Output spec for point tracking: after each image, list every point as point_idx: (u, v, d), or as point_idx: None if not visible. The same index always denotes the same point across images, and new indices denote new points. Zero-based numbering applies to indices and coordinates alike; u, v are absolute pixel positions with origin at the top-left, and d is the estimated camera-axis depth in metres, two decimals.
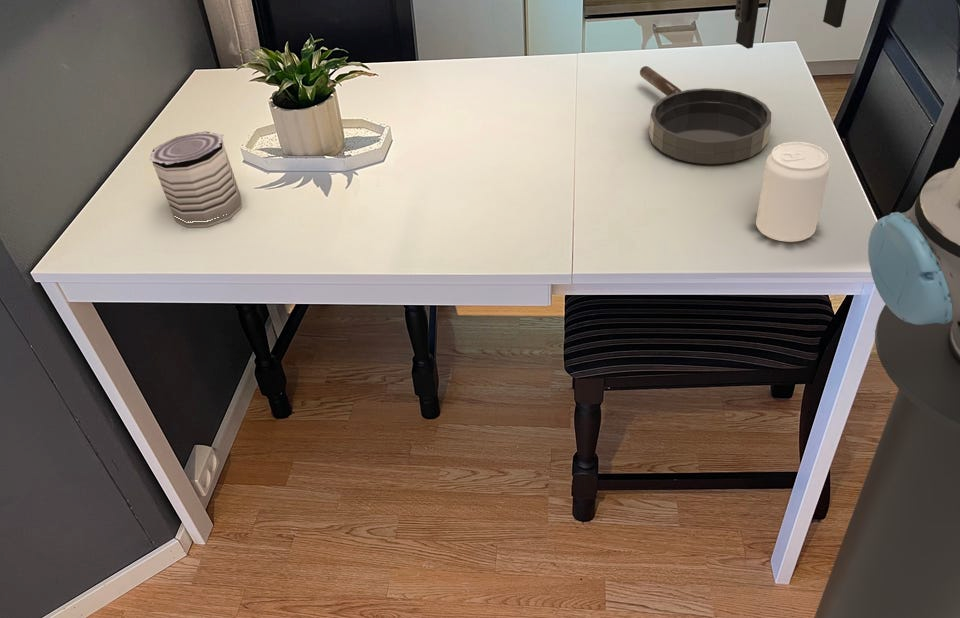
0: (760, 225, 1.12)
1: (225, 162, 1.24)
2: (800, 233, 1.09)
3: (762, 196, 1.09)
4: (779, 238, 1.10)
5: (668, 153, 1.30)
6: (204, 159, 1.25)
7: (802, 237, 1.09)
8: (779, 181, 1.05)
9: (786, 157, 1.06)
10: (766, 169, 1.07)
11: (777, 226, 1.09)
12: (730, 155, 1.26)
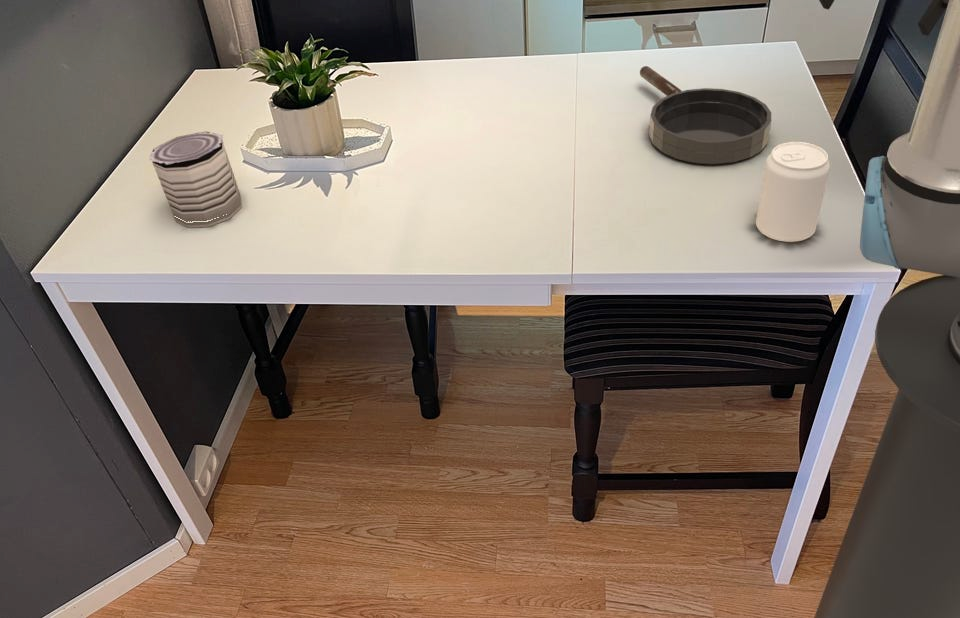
0: (760, 225, 1.12)
1: (225, 162, 1.24)
2: (800, 233, 1.09)
3: (762, 196, 1.09)
4: (779, 238, 1.10)
5: (668, 153, 1.30)
6: (204, 159, 1.25)
7: (802, 237, 1.09)
8: (779, 181, 1.05)
9: (786, 157, 1.06)
10: (766, 169, 1.07)
11: (777, 226, 1.09)
12: (730, 155, 1.26)
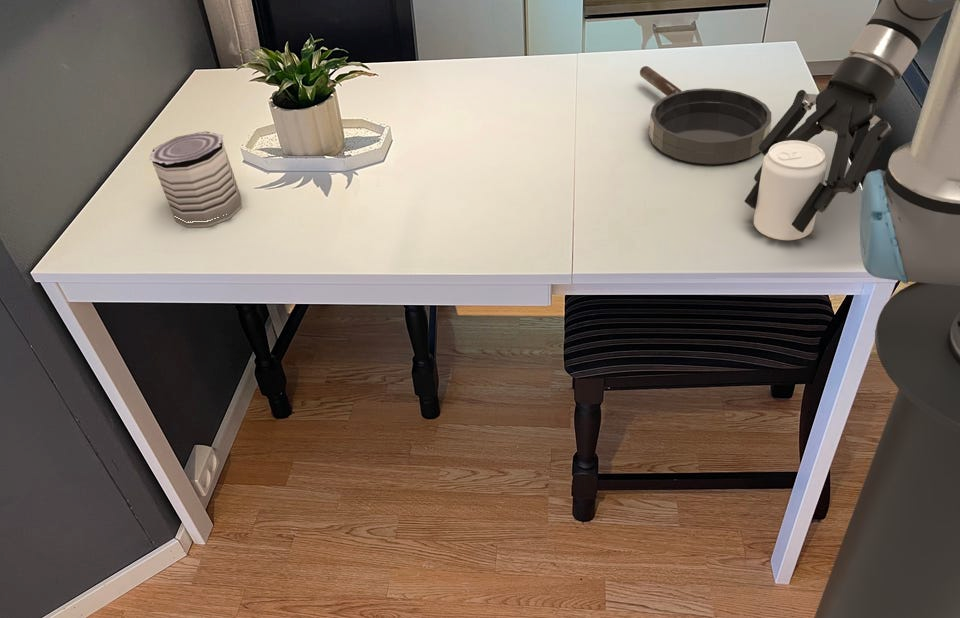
0: (757, 223, 1.12)
1: (225, 162, 1.24)
2: (798, 232, 1.09)
3: (759, 195, 1.10)
4: (776, 236, 1.10)
5: (668, 153, 1.30)
6: (204, 159, 1.25)
7: (799, 235, 1.10)
8: (776, 179, 1.05)
9: (783, 156, 1.06)
10: (763, 168, 1.07)
11: (774, 225, 1.09)
12: (730, 155, 1.26)
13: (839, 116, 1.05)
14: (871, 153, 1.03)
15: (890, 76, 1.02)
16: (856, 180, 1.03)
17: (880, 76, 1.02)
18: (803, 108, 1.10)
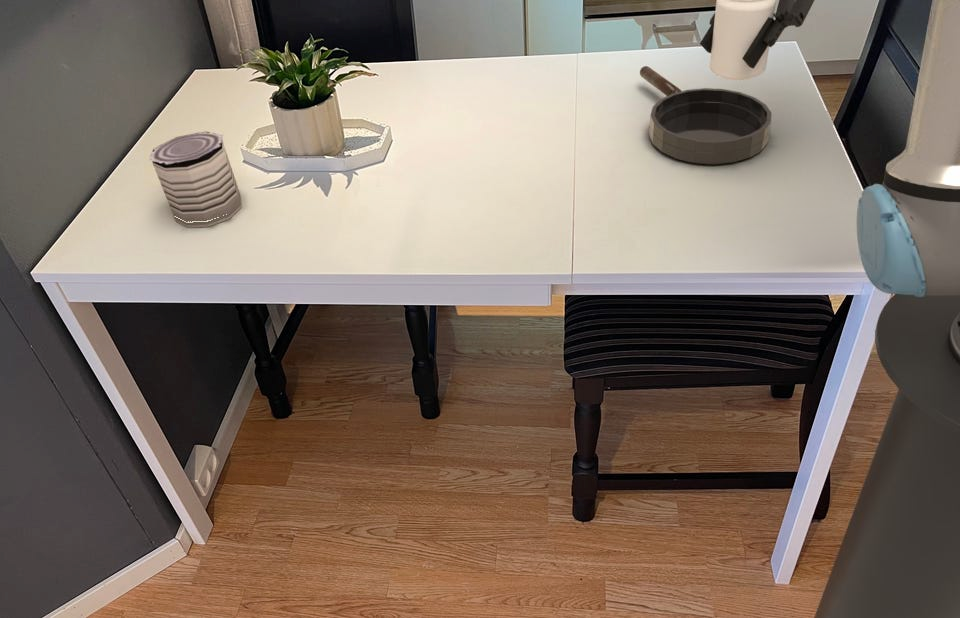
0: (713, 66, 1.18)
1: (225, 162, 1.24)
2: (750, 70, 1.15)
3: (714, 35, 1.15)
4: (730, 76, 1.16)
5: (668, 153, 1.30)
6: (204, 159, 1.25)
7: (751, 74, 1.15)
8: (727, 15, 1.11)
9: None
10: (716, 6, 1.13)
11: (728, 63, 1.15)
12: (730, 155, 1.26)
13: None
14: None
15: None
16: (802, 12, 1.09)
17: None
18: None
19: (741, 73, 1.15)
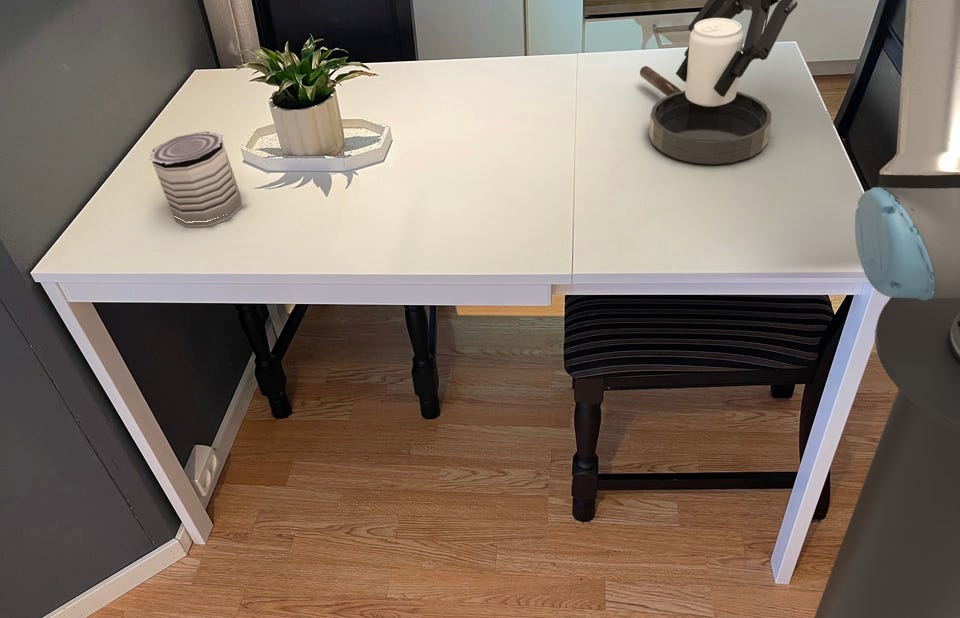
0: (688, 93, 1.29)
1: (225, 162, 1.24)
2: (721, 98, 1.26)
3: (688, 66, 1.27)
4: (703, 103, 1.27)
5: (668, 153, 1.30)
6: (204, 159, 1.25)
7: (722, 101, 1.27)
8: (700, 48, 1.22)
9: (706, 29, 1.23)
10: (690, 40, 1.24)
11: (701, 91, 1.26)
12: (730, 155, 1.26)
13: None
14: (779, 23, 1.20)
15: None
16: (767, 47, 1.20)
17: None
18: None
19: (713, 101, 1.27)
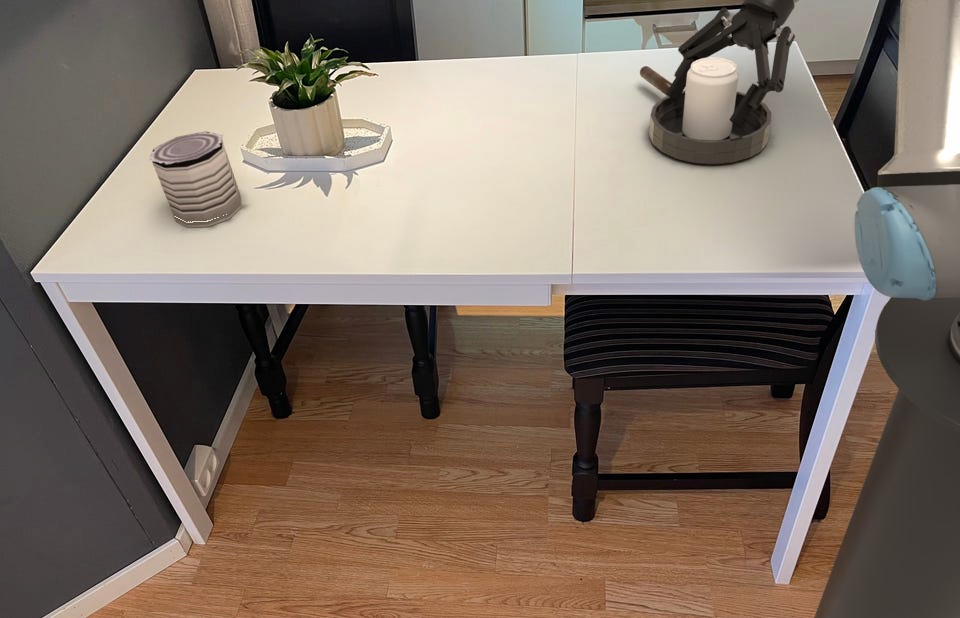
0: (684, 129, 1.33)
1: (225, 162, 1.24)
2: (716, 134, 1.30)
3: (685, 103, 1.31)
4: None
5: (668, 153, 1.30)
6: (204, 159, 1.25)
7: (718, 138, 1.31)
8: (696, 87, 1.27)
9: (703, 68, 1.27)
10: (687, 79, 1.29)
11: (697, 128, 1.30)
12: (730, 155, 1.26)
13: (749, 32, 1.26)
14: (785, 55, 1.23)
15: None
16: (781, 78, 1.22)
17: None
18: (722, 23, 1.31)
19: (709, 137, 1.31)
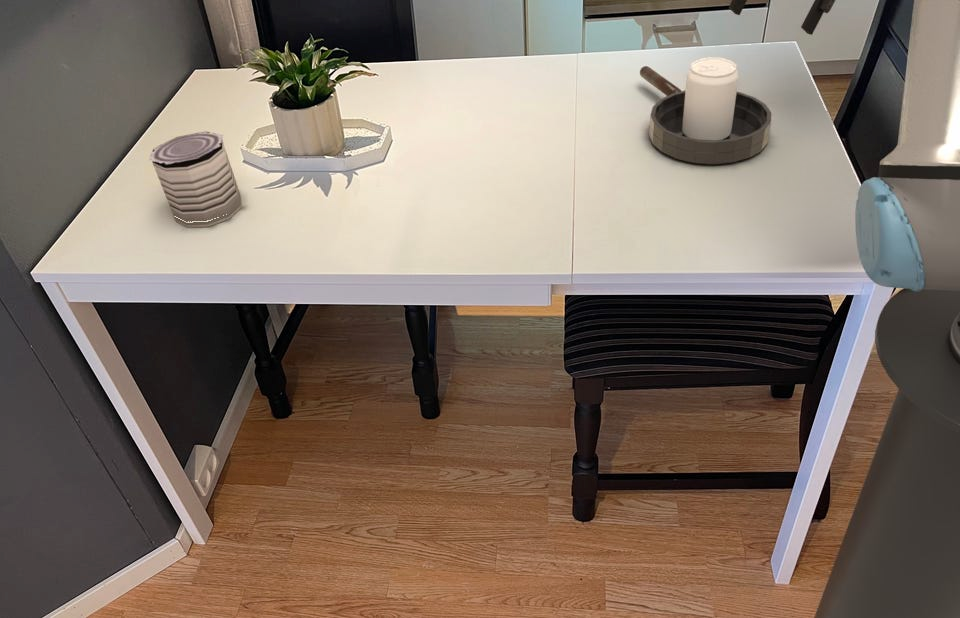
0: (684, 129, 1.33)
1: (225, 162, 1.24)
2: (716, 134, 1.30)
3: (685, 103, 1.31)
4: None
5: (668, 153, 1.30)
6: (204, 159, 1.25)
7: (718, 138, 1.31)
8: (696, 87, 1.27)
9: (703, 68, 1.27)
10: (687, 79, 1.29)
11: (697, 128, 1.30)
12: (730, 155, 1.26)
13: None
14: None
15: None
16: None
17: None
18: None
19: (709, 137, 1.31)
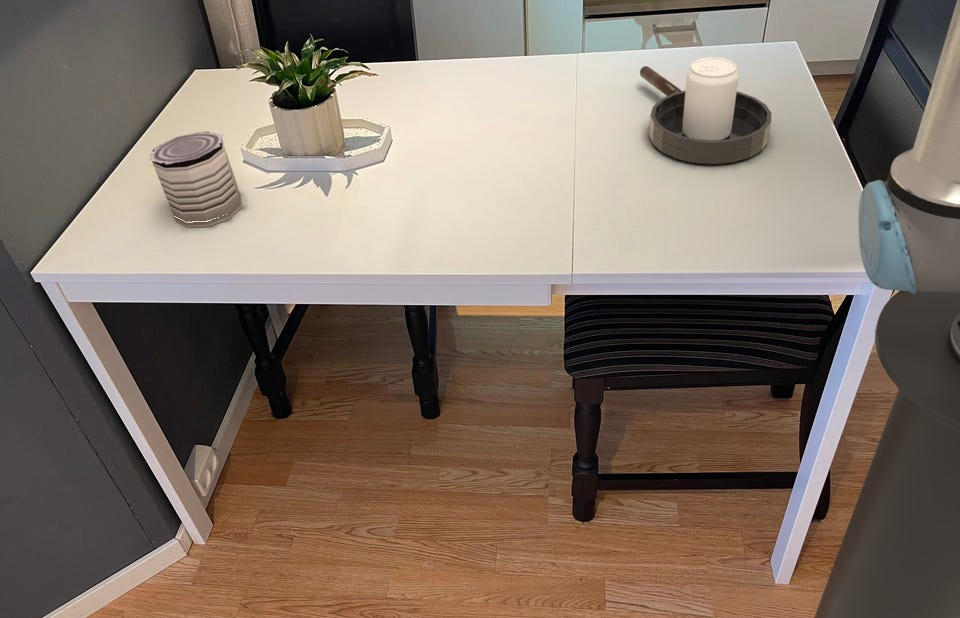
0: (684, 129, 1.33)
1: (225, 162, 1.24)
2: (716, 134, 1.30)
3: (685, 103, 1.31)
4: None
5: (668, 153, 1.30)
6: (204, 159, 1.25)
7: (718, 138, 1.31)
8: (696, 87, 1.27)
9: (703, 68, 1.27)
10: (687, 79, 1.29)
11: (697, 128, 1.30)
12: (730, 155, 1.26)
13: None
14: None
15: None
16: None
17: None
18: None
19: (709, 137, 1.31)
